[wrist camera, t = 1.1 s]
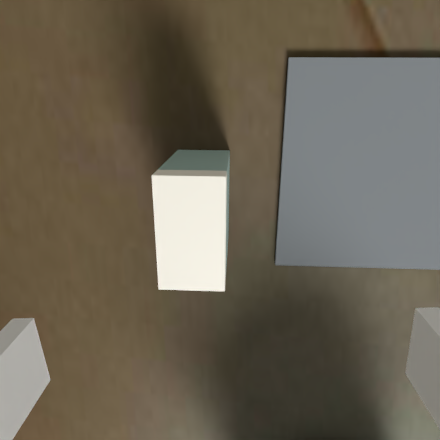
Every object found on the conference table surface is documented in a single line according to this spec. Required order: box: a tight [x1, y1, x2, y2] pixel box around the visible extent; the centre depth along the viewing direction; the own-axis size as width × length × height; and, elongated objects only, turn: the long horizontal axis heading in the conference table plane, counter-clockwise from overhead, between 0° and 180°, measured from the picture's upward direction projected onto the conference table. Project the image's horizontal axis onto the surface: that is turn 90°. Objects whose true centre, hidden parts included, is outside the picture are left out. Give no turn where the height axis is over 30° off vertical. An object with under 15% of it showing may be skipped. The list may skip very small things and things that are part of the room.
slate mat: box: [275, 57, 440, 270], centre depth 27 cm, size 20×16×1 cm
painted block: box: [152, 150, 230, 291], centre depth 24 cm, size 4×7×9 cm, turn 0°
